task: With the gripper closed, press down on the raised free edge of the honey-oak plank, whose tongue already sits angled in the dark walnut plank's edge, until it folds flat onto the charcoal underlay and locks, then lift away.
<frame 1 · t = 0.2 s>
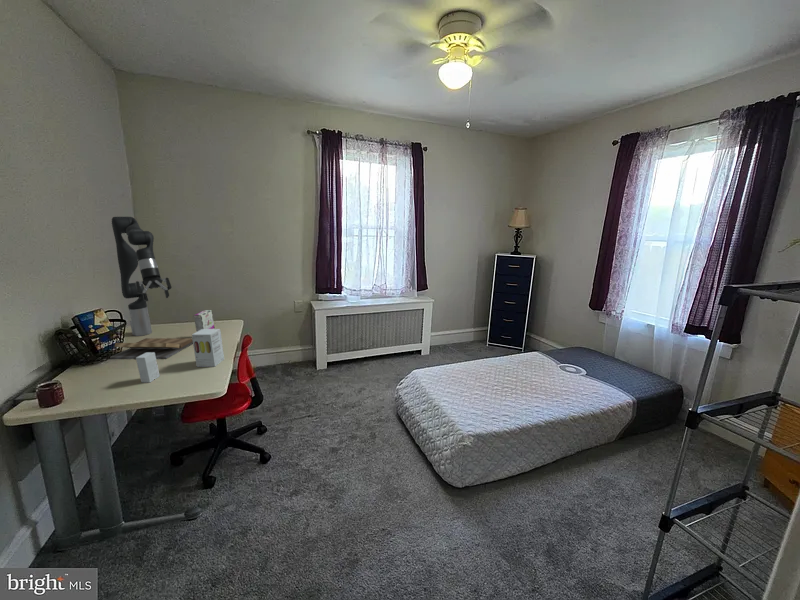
hand: (157, 299, 169), 31 cm above the table, tool tilted 20°, fingers open, 8 cm apart
candy bar box: (207, 338, 203), on the table
oak plank: (148, 345, 179), point 4 cm above the table, hinge at 25.0°
supplement box: (210, 363, 166), on the table
skincare box: (150, 379, 149), on the table
floor section: (155, 350, 184), on the table
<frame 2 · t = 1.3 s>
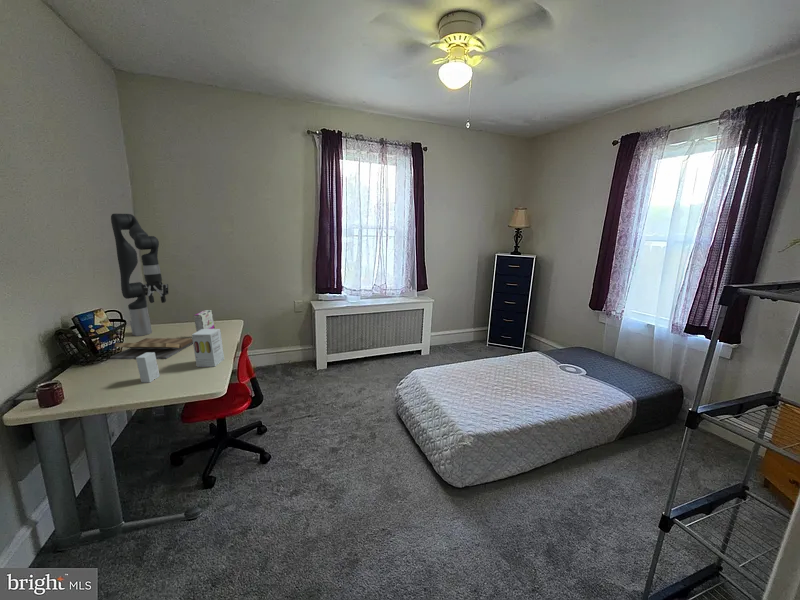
hand: (157, 302, 186), 26 cm above the table, tool pointing down, fingers open, 6 cm apart
nothing on the table moved.
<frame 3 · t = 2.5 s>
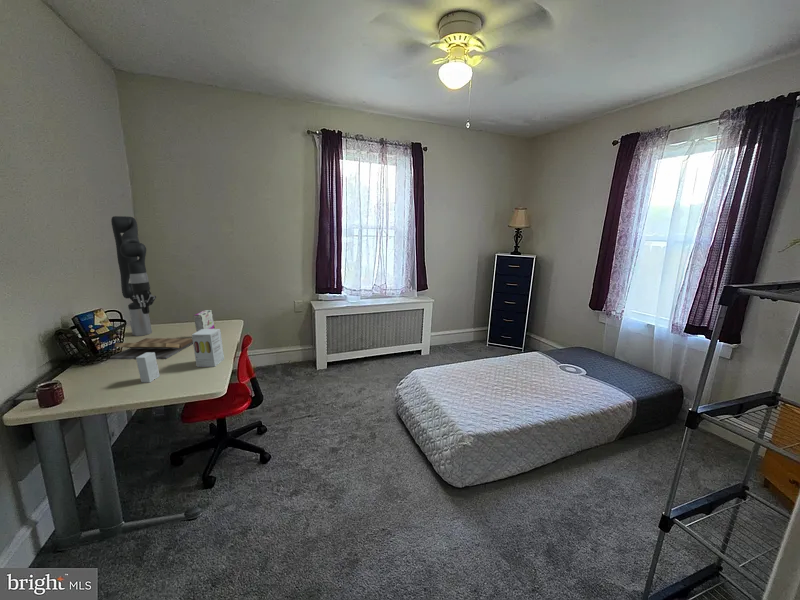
hand: (146, 313, 177), 22 cm above the table, tool pointing down, fingers closed
nothing on the table moved.
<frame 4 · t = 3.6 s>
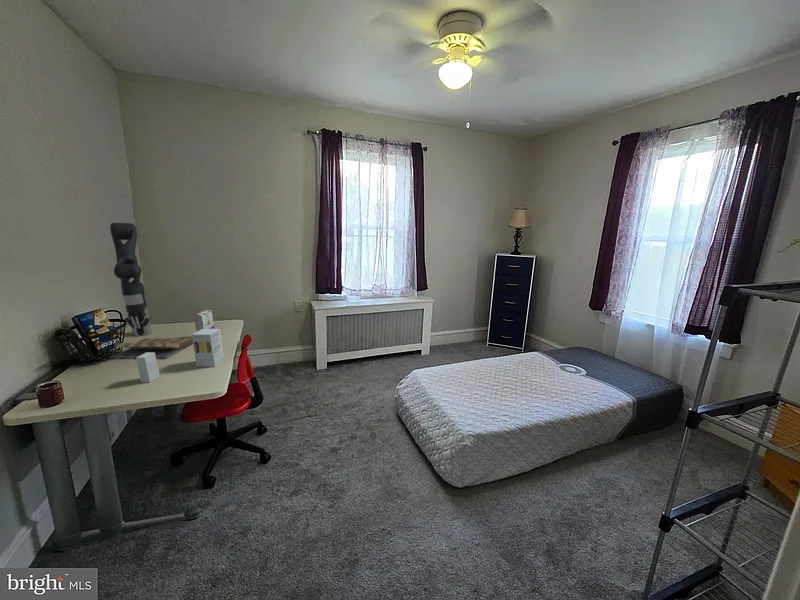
hand: (141, 334, 174), 12 cm above the table, tool pointing down, fingers closed
nothing on the table moved.
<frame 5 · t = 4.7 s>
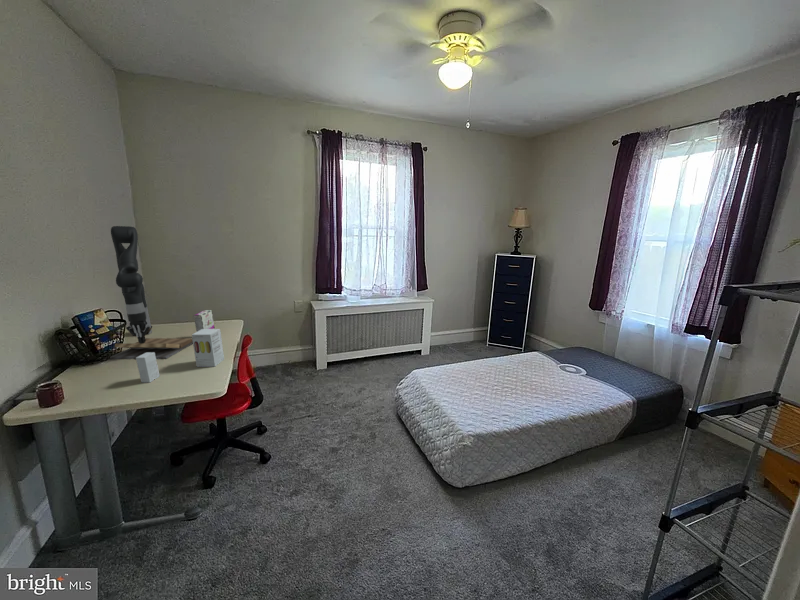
hand: (142, 343, 175), 7 cm above the table, tool pointing down, fingers closed
oak plank: (148, 345, 179), point 4 cm above the table, hinge at 23.3°, touching gripper
everything else where it was.
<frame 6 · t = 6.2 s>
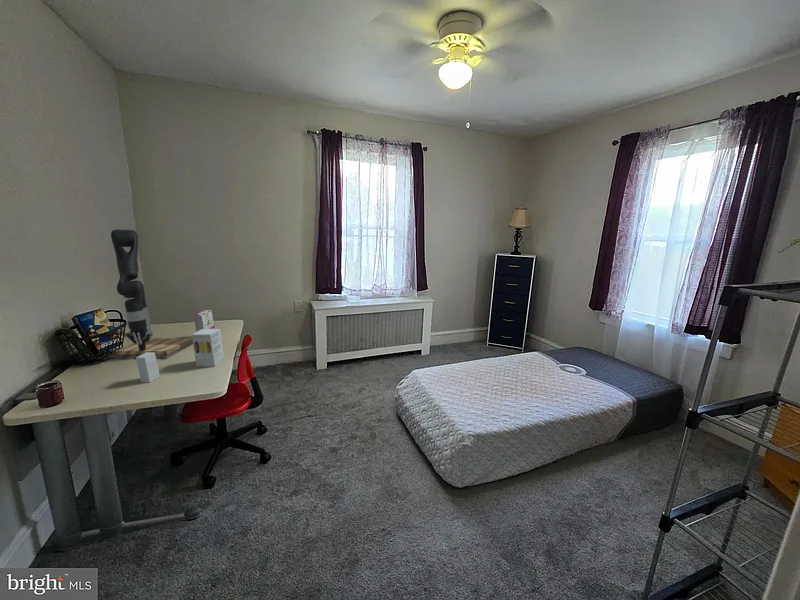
hand: (142, 350, 175), 3 cm above the table, tool pointing down, fingers closed
oak plank: (148, 349, 179), point 2 cm above the table, hinge at 0.9°, touching gripper
everything else where it was.
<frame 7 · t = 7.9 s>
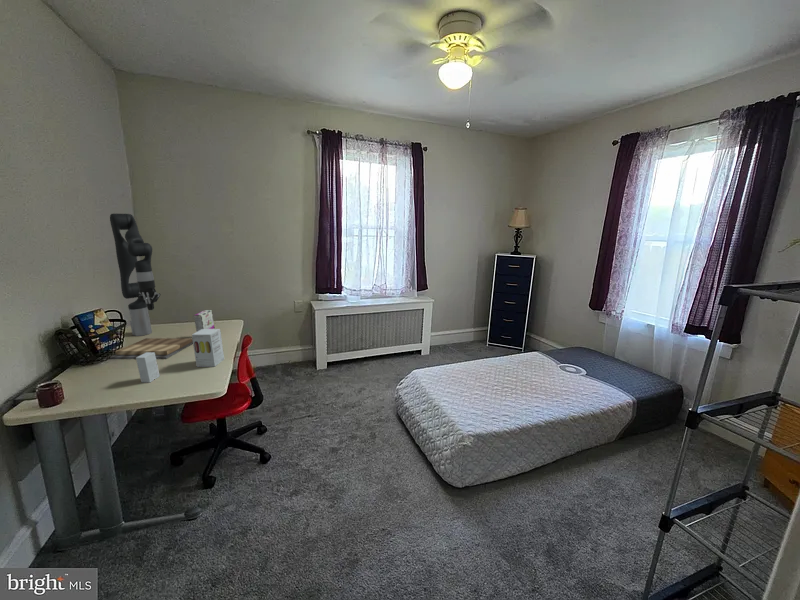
hand: (151, 309, 186), 22 cm above the table, tool pointing down, fingers closed
oak plank: (148, 349, 179), point 2 cm above the table, hinge at 0.9°
everything else where it was.
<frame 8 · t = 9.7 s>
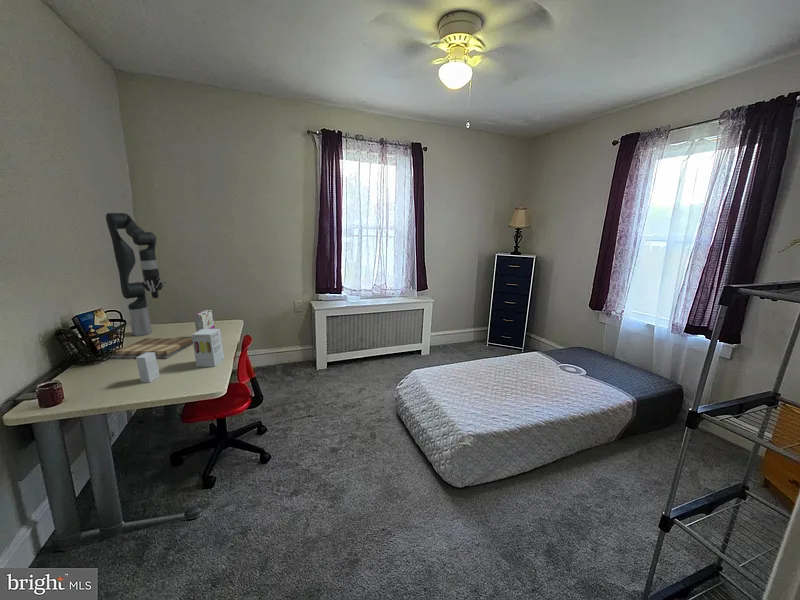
hand: (155, 297, 191), 27 cm above the table, tool pointing down, fingers closed
nothing on the table moved.
at the end: oak plank at +1° (first picture: +25°) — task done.
